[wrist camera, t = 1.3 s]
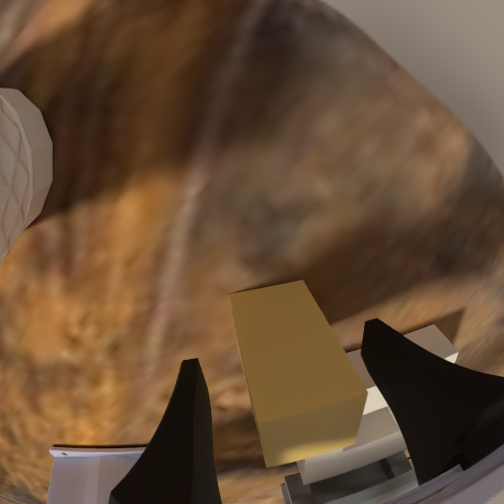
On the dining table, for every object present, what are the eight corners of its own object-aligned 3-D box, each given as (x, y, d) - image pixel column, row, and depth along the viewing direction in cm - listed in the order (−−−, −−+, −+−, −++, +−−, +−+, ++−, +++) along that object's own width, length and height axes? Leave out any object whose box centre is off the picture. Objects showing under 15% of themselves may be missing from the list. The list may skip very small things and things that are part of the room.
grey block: (280, 487, 26) (295, 540, 20) (276, 453, 22) (296, 522, 16) (395, 450, 28) (419, 495, 22) (416, 406, 24) (450, 460, 18)
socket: (294, 456, 23) (303, 485, 20) (291, 367, 18) (307, 407, 15) (399, 421, 24) (413, 445, 21) (433, 324, 19) (458, 351, 16)
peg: (238, 349, 16) (266, 467, 10) (228, 294, 15) (257, 422, 8) (303, 335, 17) (354, 443, 10) (302, 279, 15) (368, 392, 9)
